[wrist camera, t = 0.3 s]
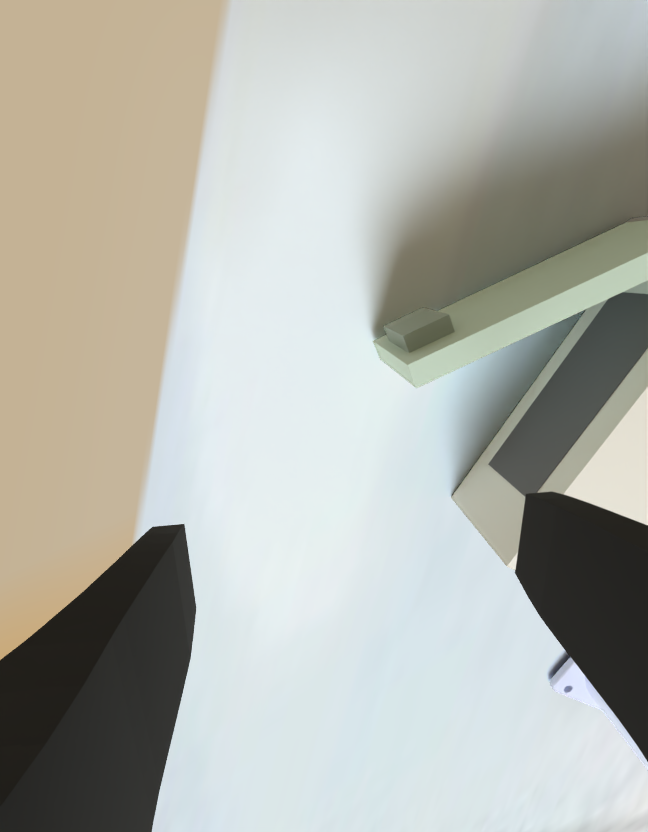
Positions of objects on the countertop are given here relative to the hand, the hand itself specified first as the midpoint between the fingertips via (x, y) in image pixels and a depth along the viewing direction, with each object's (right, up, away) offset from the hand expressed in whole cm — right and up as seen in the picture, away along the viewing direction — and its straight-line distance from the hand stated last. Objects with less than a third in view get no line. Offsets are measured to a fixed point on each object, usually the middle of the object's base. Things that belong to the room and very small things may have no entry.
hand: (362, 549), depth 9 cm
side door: (+6, +8, +8) cm, 13 cm away
